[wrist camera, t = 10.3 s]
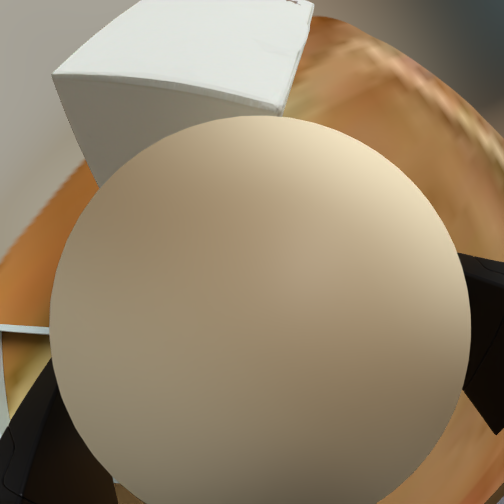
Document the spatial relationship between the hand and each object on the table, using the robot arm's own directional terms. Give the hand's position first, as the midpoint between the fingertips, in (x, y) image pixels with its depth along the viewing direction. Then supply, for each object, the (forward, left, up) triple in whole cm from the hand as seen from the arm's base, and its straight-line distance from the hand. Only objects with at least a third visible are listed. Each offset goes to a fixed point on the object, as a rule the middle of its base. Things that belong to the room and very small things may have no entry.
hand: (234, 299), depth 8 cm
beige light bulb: (-1, 0, -9) cm, 9 cm away
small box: (+7, +1, -10) cm, 12 cm away
